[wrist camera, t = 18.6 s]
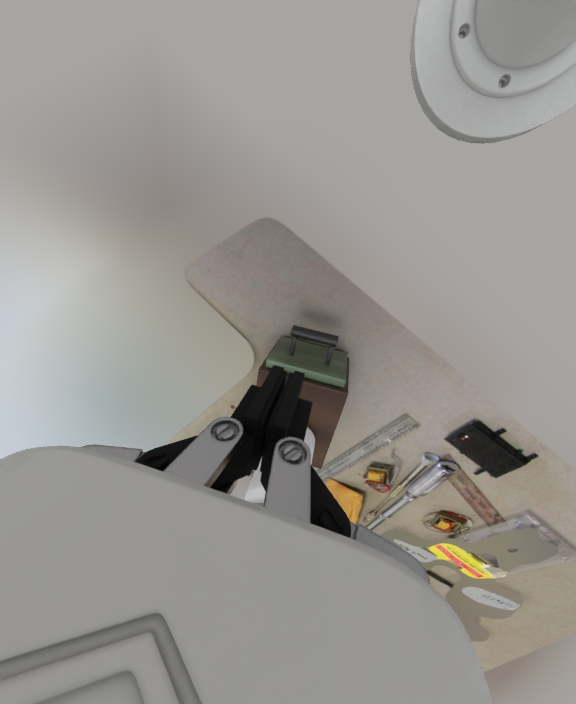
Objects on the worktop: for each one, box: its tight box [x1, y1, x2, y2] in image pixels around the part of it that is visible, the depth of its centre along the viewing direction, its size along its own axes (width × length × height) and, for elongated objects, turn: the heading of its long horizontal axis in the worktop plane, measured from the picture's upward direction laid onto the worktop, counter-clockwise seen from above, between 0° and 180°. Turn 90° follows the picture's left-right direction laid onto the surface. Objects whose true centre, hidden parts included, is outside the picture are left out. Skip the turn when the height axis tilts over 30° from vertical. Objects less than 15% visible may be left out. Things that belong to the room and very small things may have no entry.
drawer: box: [266, 325, 347, 388], centre depth 37 cm, size 18×10×8 cm, turn 170°
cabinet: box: [257, 340, 349, 469], centre depth 39 cm, size 15×12×10 cm
